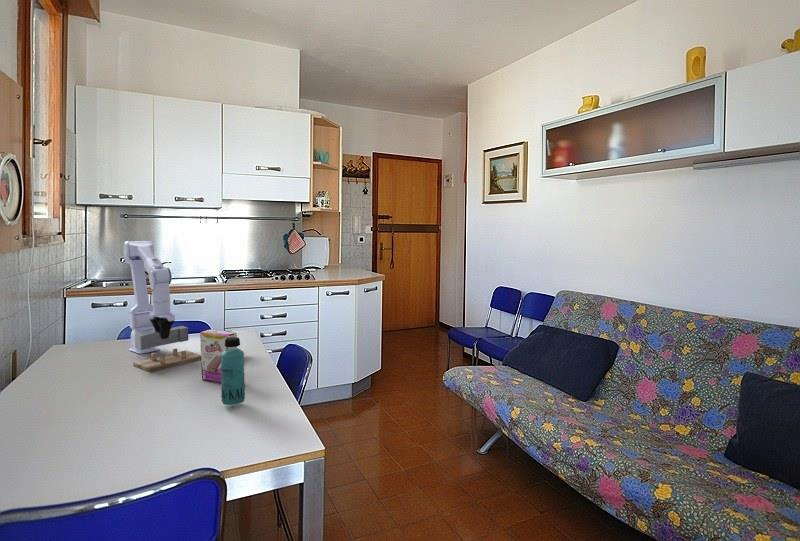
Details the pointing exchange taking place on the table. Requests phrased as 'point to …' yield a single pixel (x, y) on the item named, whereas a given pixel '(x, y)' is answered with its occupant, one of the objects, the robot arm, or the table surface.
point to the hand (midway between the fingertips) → (162, 337)
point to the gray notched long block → (160, 338)
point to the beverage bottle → (232, 373)
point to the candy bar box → (213, 353)
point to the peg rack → (166, 360)
